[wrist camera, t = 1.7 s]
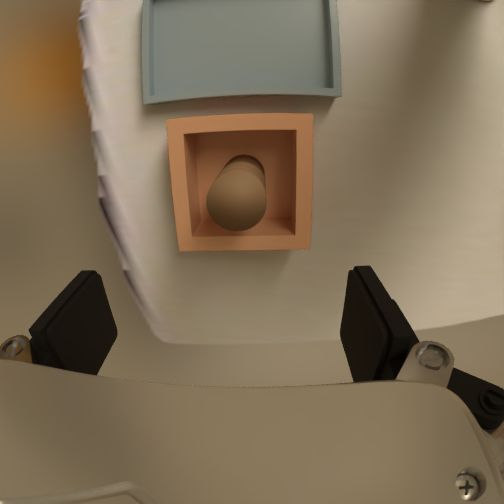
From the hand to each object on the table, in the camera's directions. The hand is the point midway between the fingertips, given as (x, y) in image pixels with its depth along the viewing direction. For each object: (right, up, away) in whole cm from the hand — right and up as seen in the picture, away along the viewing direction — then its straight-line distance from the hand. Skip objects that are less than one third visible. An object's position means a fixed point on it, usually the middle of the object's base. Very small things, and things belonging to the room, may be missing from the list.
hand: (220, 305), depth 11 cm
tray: (0, +25, +16) cm, 29 cm away
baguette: (0, +10, +21) cm, 24 cm away
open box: (0, +10, +22) cm, 25 cm away
